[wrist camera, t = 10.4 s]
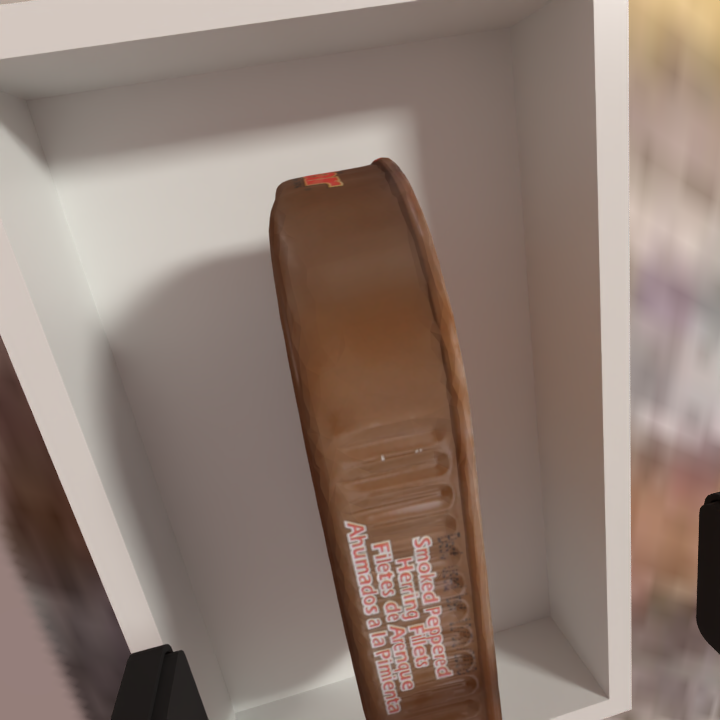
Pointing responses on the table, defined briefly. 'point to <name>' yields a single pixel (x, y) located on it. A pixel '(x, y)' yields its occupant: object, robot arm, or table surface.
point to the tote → (264, 330)
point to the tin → (387, 440)
